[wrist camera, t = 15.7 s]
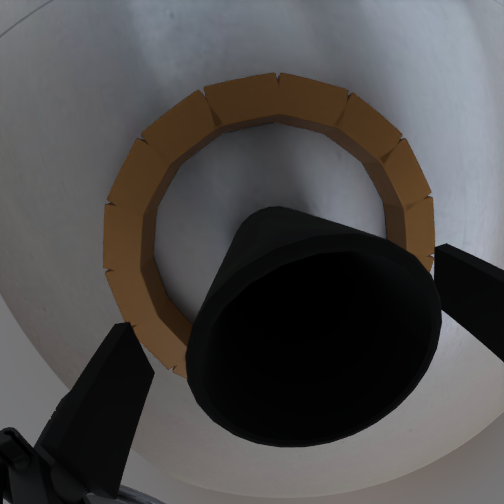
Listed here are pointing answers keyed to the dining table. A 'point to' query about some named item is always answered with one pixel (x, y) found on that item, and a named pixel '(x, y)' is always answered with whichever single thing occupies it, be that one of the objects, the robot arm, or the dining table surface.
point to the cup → (310, 331)
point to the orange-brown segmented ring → (205, 131)
